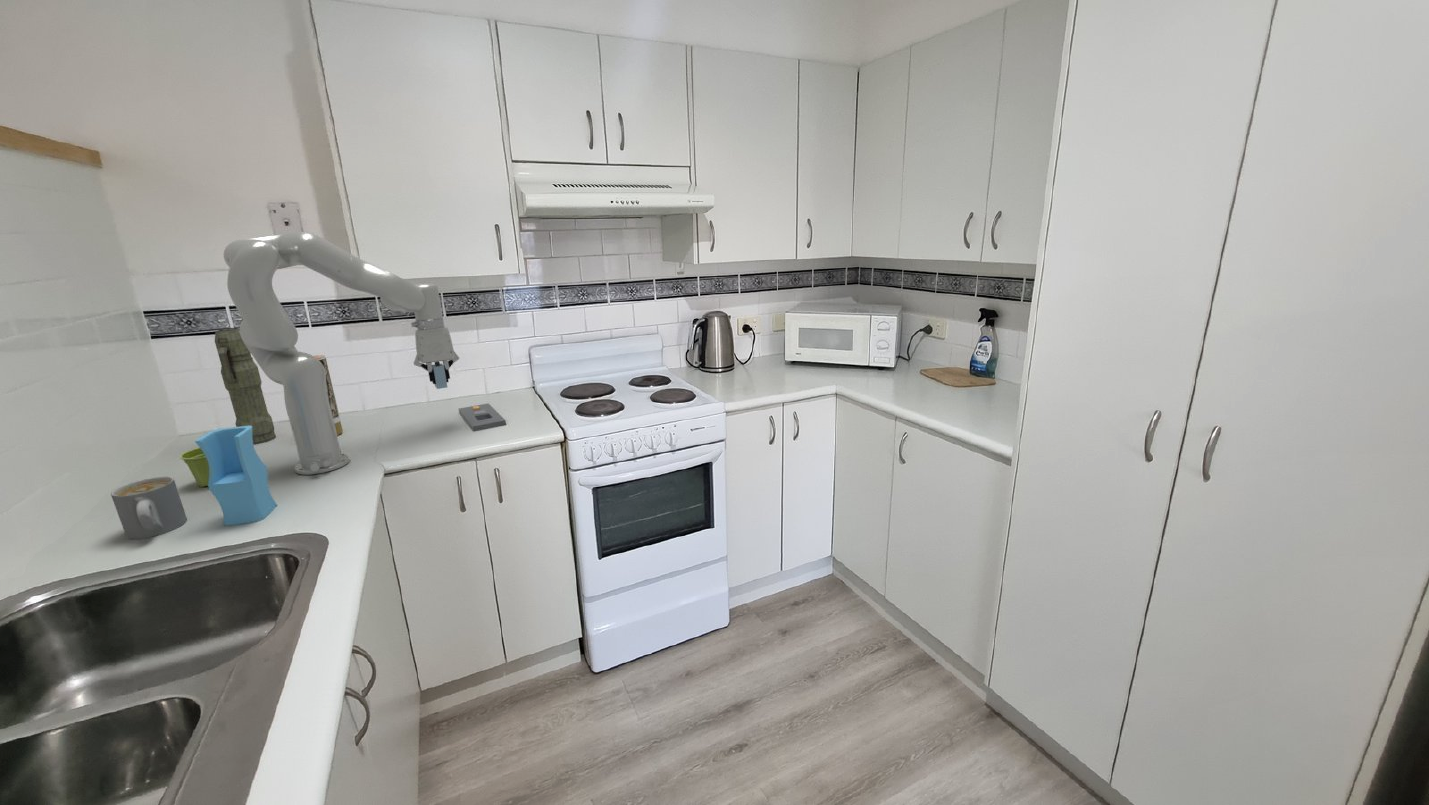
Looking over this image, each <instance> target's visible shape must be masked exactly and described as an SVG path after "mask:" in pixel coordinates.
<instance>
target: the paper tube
mask: <svg viewBox="0 0 1429 805" xmlns="http://www.w3.org/2000/svg"><path fill="white" fill-rule="evenodd" d="M313 356H314V357H316V358H317V359H318V360H319V361H320V362H321V363H322V365H323V367H324V369H325V373H326V387H327V394H328V399H329V404H330V408H331V411H332V416H333V420H334V424H335V428H336V433H337V436H340V435H342V433H343V427H342V426H343V425H342V422H341V418H340V414H339V408H338V405H337V400H336V396H335V395H336V394H335V392H334V387H333V383H332V378H331V373H330V371H329V370H330V369H329V367H328V366H329V365H328V362H327V358H326V355H322V354H321V355H318V354H317V355H313Z"/></svg>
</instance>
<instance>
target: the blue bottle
mask: <svg viewBox="0 0 1429 805" xmlns="http://www.w3.org/2000/svg"><path fill="white" fill-rule="evenodd" d="M432 369H433V372H434V375H435V381H436V384H434V387H435V388H436V389H437V390H440V389H446V388H447V389H448V382H447V381H446V375H445V370H444V365H443V362H442V363H441V361H439V362H434V364H432Z"/></svg>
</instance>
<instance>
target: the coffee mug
mask: <svg viewBox="0 0 1429 805" xmlns="http://www.w3.org/2000/svg"><path fill="white" fill-rule="evenodd" d="M110 496H111V499H112V501H113V504H114V507H115V510H116V513H117V515H118V519H119V520H120V524H121V526H122V529H123V532H124V534H125V537H126V538H127V539H130V540H142V539H147V538H153V537H157V536H161V535H163V534H167V533H169V532H173V531H175V530H176V529H178V528H180V527H182V526H183V525H185V524H186V523H187V521H188V517H187V515H186V512H185V509H184V508H185V507H184V505H183V503H182V499H181V497H180V494H179V491H178V488H177V485H176V481H175V479H174V477H172V476H156V477H149V478H144V479H140V480H136V481H132V482H129V483H127V484H124V485H121V486H119V487H117V488H115V489H114V490H112V491H111V493H110Z"/></svg>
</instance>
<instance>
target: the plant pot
mask: <svg viewBox="0 0 1429 805" xmlns="http://www.w3.org/2000/svg"><path fill="white" fill-rule="evenodd" d="M179 457H180V459H181V460H183V462H184V463H185V464H186V465H187V467H188V468H189V471H190V472H191V474H192V476H193V478H194V480H195V482H196V484H197V486H198V487H201V488H204V487H208V482H209V463H208V460H207V458H206V456H205V454H204V453H203V451H202V450H201V449H200V447H197V448H194V449H191V450H189V451H188V450H187V451H185V452H183V453H182V454H180V456H179Z"/></svg>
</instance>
